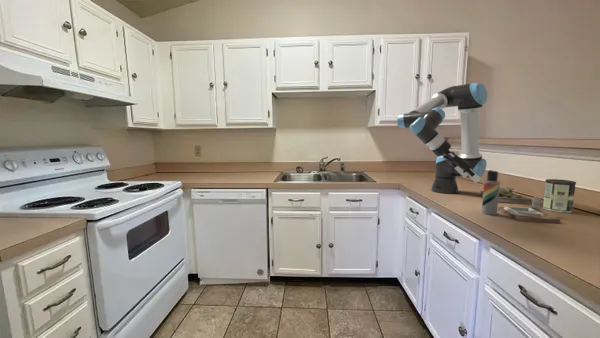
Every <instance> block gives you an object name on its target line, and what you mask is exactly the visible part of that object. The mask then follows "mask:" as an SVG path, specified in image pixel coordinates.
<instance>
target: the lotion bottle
mask: <svg viewBox="0 0 600 338" xmlns="http://www.w3.org/2000/svg"><path fill="white" fill-rule="evenodd" d="M498 178H499V172H498V170H497V171H496V170H493V169H492V170H491V169H489V170H488V171H487V176H486V180H484V183H483V190H482V191H483V196H482V205H481V206H482V207H481V213H482V214H484V215H488V216H496V215H498V207H499V202H498V197H499V188H500V181H499V180H498Z"/></svg>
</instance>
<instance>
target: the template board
mask: <svg viewBox="0 0 600 338" xmlns="http://www.w3.org/2000/svg"><path fill="white" fill-rule="evenodd" d="M542 200H543V199H542V198H541V197H532V202H531V207H524V206H522V207H519V206H503V207H502V206H498V208H497V211H498V212H500V213H502V214H504V215H505V216H508V217H509V218H511V219H513V220H515V221H518V222H519V221H520V222H532V223H533V222H535V223H538V222H539V223H546V224H547V223H551V224H561V219H559V218H558V217H555V216H552V215H550V214H548V213H545V212H543V211H541V209H542Z"/></svg>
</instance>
